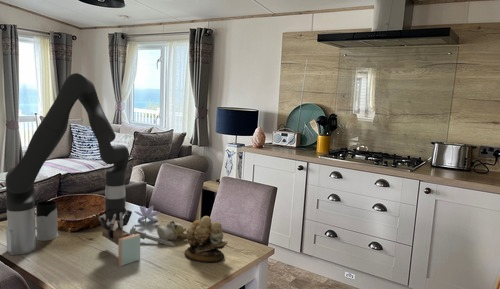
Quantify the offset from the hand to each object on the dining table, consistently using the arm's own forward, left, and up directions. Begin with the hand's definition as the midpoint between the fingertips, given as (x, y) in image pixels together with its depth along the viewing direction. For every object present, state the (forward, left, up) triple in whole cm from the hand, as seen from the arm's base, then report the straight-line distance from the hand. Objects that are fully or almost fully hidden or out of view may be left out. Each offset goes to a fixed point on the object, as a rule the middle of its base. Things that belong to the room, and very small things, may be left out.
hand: (115, 237), depth 148 cm
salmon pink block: (0, -11, -6) cm, 13 cm away
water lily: (+28, +21, -7) cm, 35 cm away
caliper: (+16, -1, -7) cm, 17 cm away
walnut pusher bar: (0, 0, -1) cm, 1 cm away
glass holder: (-16, +35, -6) cm, 39 cm away
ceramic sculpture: (+25, -4, -7) cm, 26 cm away
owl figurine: (+25, -26, -7) cm, 37 cm away
